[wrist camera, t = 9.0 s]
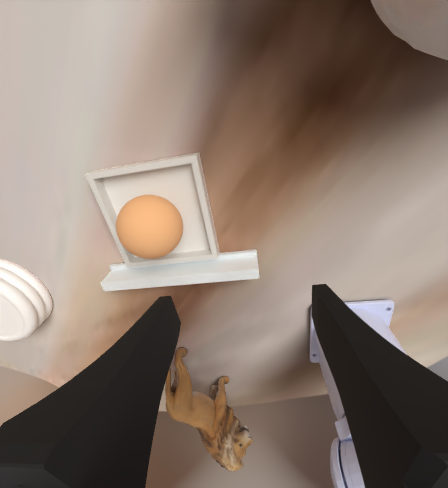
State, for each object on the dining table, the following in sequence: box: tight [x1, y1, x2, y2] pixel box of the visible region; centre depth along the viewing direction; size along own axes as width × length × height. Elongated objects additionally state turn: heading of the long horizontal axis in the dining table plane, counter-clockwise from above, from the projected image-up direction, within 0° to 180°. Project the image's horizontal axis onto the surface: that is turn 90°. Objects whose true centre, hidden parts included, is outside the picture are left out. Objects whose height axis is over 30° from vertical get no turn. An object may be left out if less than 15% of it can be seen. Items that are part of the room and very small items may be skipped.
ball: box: [116, 195, 183, 259], centre depth 18 cm, size 5×5×5 cm
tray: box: [85, 152, 220, 268], centre depth 20 cm, size 9×9×1 cm
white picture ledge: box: [100, 249, 259, 291], centre depth 22 cm, size 2×15×2 cm, turn 99°
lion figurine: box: [166, 348, 253, 471], centre depth 28 cm, size 15×5×9 cm, turn 52°
